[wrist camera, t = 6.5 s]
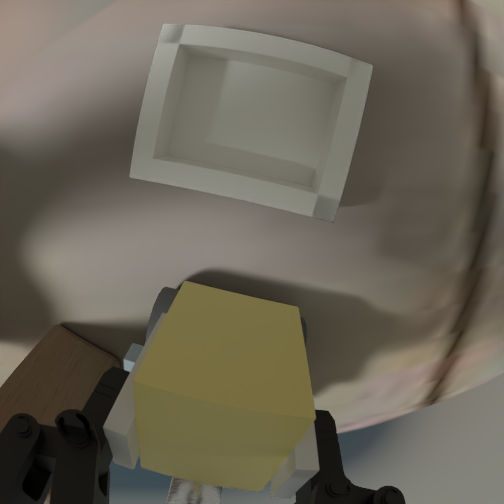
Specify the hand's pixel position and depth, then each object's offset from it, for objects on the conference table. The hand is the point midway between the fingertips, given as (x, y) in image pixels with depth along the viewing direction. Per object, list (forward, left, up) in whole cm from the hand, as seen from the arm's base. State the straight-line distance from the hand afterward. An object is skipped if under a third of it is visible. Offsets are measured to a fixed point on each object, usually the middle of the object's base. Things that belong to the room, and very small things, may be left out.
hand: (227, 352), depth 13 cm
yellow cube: (0, 0, 0) cm, 0 cm away
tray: (-2, +11, -13) cm, 17 cm away
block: (-17, -20, -13) cm, 29 cm away
